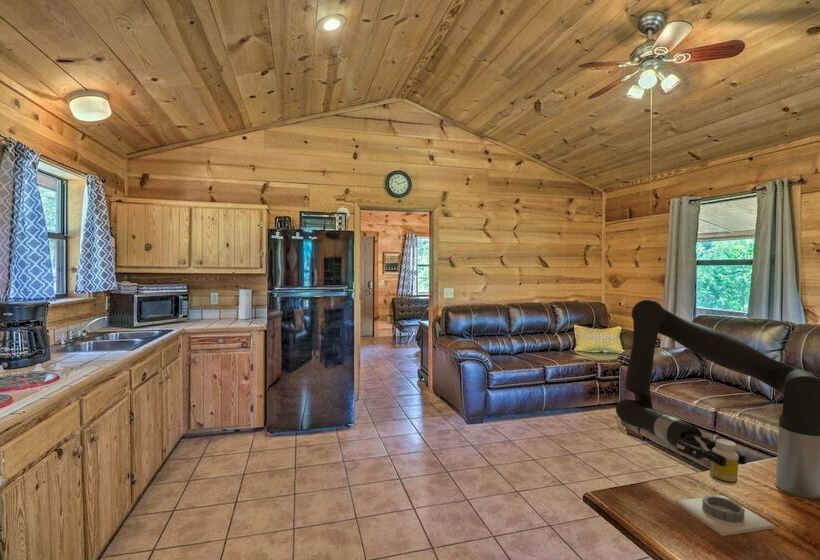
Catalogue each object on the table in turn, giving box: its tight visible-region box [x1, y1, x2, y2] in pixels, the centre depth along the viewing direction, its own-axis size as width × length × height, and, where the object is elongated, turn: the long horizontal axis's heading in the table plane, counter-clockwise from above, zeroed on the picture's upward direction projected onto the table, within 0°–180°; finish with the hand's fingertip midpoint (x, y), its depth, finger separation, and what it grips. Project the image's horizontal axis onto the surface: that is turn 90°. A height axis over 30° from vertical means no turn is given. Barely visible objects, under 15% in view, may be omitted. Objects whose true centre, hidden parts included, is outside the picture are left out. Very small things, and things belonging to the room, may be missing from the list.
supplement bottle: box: [709, 438, 739, 486], centre depth 104 cm, size 5×5×10 cm
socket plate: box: [675, 495, 775, 537], centre depth 104 cm, size 15×13×3 cm
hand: (734, 461), depth 101 cm, fingers closed on supplement bottle, 5 cm apart
